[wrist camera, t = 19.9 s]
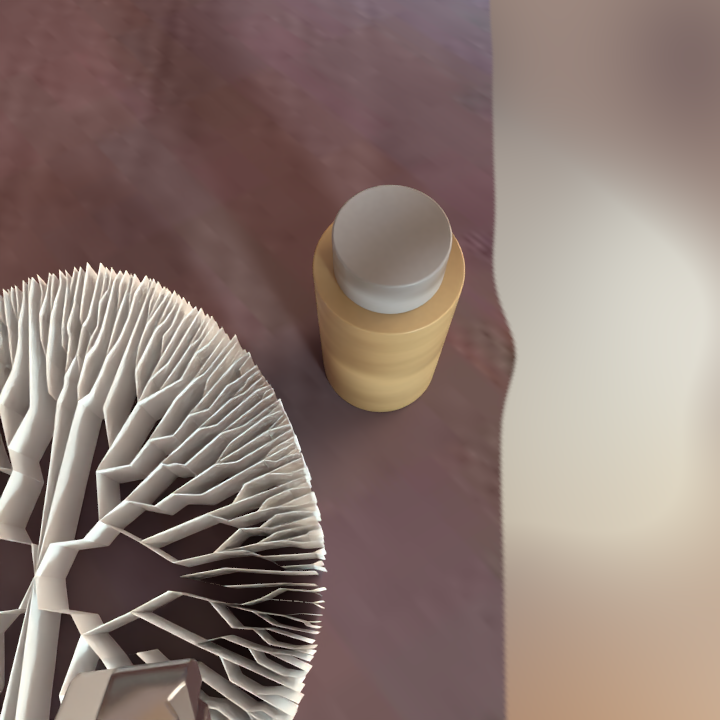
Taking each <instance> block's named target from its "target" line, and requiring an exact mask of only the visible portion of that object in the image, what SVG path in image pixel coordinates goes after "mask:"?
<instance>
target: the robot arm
mask: <svg viewBox="0 0 720 720" xmlns="http://www.w3.org/2000/svg"><path fill="white" fill-rule="evenodd" d="M201 683H202V677H201V674H200V670H199V666H198V663H197V660H195V659H193V658H188V659H180V660H172V661H164V662H155V663H147V664H139V665H131V666H123V667H118V668H115V669H106V670H98V671H89V672H80V673H78V674H77V675H76V677H75V678H74V679H73V680H72V681H71V682H70V684H69V686H68V688H67V691H66V693H65V695H64V698H63V700H62V703H61V705H60V707H59V710H58V712H57V715H56V717H55V719H54V720H211V716H210V712H209V707H208V704H206V703H205V702H204V701H202V700H201V699H200V698H199V695H200V689H201Z"/></svg>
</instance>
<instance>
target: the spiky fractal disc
mask: <svg viewBox="0 0 720 720" xmlns="http://www.w3.org/2000/svg"><path fill="white" fill-rule="evenodd" d="M65 272H66V276H65V275H64V274H63V273H62V272H61V271H60V269H59V277H60V280H59V279H58V278H57V277H56V276H55V275H54V274H53V275H51V274H50V273H49V278H48V284H46V283H45V282H44V281H43V280H42V279H41V278H40V277H39V276H38V275H37V276H38V280H39V284H40V285H39V284H38V283H37V282H36V281H35V280H34V279H33V277H32V280H31V279H30V278H29V277H28V285H27V284H26V283H25V282H24V281H23V292H22V291H21V290H20V289H19V288H18V287H16V286H15V290H14V289H13V288H12V287H11V292H10V291H9V290H8V293H9V294H8V293H7V292H6V291H5V290H4V289H3V295H4V298H3V297H2V296H1V295H0V416H1V420H2V425H3V429H4V433H5V438H6V442H7V446H8V450H9V455H10V459H11V463H12V467H11V464H10V462H9V459H8V457H7V454H6V450H5V447H4V443H3V440H2V436H1V433H0V471H1V472H4V473H6V474H9V475H11V476H10V478H9V480H8V483H7V485H6V487H5V489H4V492H3V494H2V496H0V539H4V540H9V541H14V542H18V543H23V544H28V545H31V547H32V556H33V566H34V575H35V576H34V578H33V580H32V582H31V584H30V586H29V588H28V590H27V592H26V594H25V596H24V599H23V601H22V603H21V605H20V607H19V609H16V610H9V611H1V612H0V694H1V692H2V690H3V689H4V687H5V646H4V632H5V631H6V630H7V629H8V627H9V626H10V625H11V624H12V623H13V622H14V621H15V619H16V618H17V617H18V616H19V615H20V614H22V613H25V617H24V621H23V625H22V629H21V634H20V638H19V642H18V646H17V650H16V654H15V658H14V662H13V666H12V671H11V675H10V679H9V683H8V687H7V691H6V695H5V699H4V703H3V707H2V711H1V715H0V720H49V716H50V707H51V698H52V689H53V680H54V672H55V663H56V655H57V646H58V638H59V629H60V621H61V613H65V614H71V616H72V618H73V620H74V622H75V624H76V626H77V628H78V630H79V632H80V634H81V636H80V639H79V642H78V645H77V647H76V650H75V653H74V656H73V658H72V661H71V664H70V667H69V669H68V672H67V675H66V678H65V680H64V683H63V686H62V689H61V691H60V694H59V698H60V702H61V703H62V700H63V698H64V695H65V693H66V691H67V688H68V686H69V684H70V682H71V681H72V680H73V679H74V678H75V677H76V675H77V674H78V673H80V672H89V671H95V669H96V666H97V663H98V660H99V657H100V659H101V660H102V662H103V663H104V665H105V666H106V668H107V669H115V668H118V667H123V666H131V665H133V664H132V662H131V661H130V659H129V658H128V656H127V655H126V653H125V652H124V651H123V650H122V649H121V647H120V646H119V645H118V644H117V643H116V641H115V640H114V639H113V638H112V637H111V636H110V634H109V632H111V631H113V630H115V629H117V628H119V627H121V626H123V625H125V624H127V623H130V622H132V621H134V620H136V619H138V618H142V619H144V620H146V621H148V622H150V623H152V624H154V625H156V626H158V627H160V628H162V629H164V630H166V631H168V632H170V633H172V634H174V635H176V636H178V637H180V638H182V639H184V640H186V641H188V642H190V643H192V644H194V645H196V646H198V647H200V648H202V649H205V650H207V651H209V652H211V653H213V654H216V655H218V656H220V658H221V661H222V663H223V666H224V668H225V670H226V673H227V675H228V678H229V680H230V681H231V682H232V683H234V684H236V685H238V686H239V687H241V688H243V689H245V690H246V691H248V692H250V693H252V694H253V695H255V696H257V697H259V698H260V699H262V700H264V701H260V702H258V701H256V700H255V699H253V698H252V697H251V696H249V695H248V694H246V693H245V692H243V691H242V690H241V689H239V688H238V687H236V686H235V685H233V684H232V683H231V682H229V681H228V680H226V679H225V678H224V677H222V676H221V675H219V674H218V673H216V672H215V671H214V670H212V669H211V668H209V667H208V666H206V665H205V664H204V663H202V662H197V663H198V666H199V670H200V674H201V677H202V681H204V682H205V683H207V684H208V685H209V686H211V687H212V688H214V689H215V690H217V691H218V692H219V693H221V694H222V695H224V696H225V697H226V698H228V699H224V698H217V697H209V696H208V695H207V694H206V693H205V692H204V691H202V690H201V689H200V695H199V698H200V699H201V700H202V701H204V702H205V703H206V704H208V707H209V712H210V716H211V720H292V719H293V718H294V716H295V714H296V712H297V708H298V706H299V705H297V704H295V703H293V702H292V701H294V702H296V703H298V704H299V702H300V701H301V699H302V697H303V696H304V694H302V693H300V692H301V690H302V689H303V687H304V686H305V684H303V683H302V682H303V680H304V679H305V677H306V676H305V675H306V674H307V673H308V672H309V670H310V669H311V667H312V665H310V664H308V663H305V662H303V661H301V660H299V659H297V658H295V657H298V658H301V659H304V660H307V661H311V659H312V658H313V657H314V656H312V655H313V654H314V653H315V652H316V650H312V649H311V648H315V647H316V646H317V645H294V644H289V643H284V642H279V641H277V640H275V639H274V638H273V637H272V636H271V635H270V634H269V633H268V632H267V631H266V630H265V629H268V630H271V631H274V632H277V633H280V634H283V635H286V636H290V637H293V638H296V639H299V640H302V641H305V642H308V643H311V644H312V643H313V642H314V641H316V640H313V639H310V638H307V637H304V636H301V635H297V634H294V633H291V632H288V631H285V630H282V629H279V628H261V627H247V626H243V625H242V624H241V622H240V621H239V620H238V619H237V618H236V617H235V616H234V614H233V613H232V612H231V611H230V610H229V609H228V608H227V606H231V607H235V608H239V609H243V610H247V611H251V612H253V613H255V614H257V615H258V616H260V617H261V618H263V619H264V620H266V621H267V622H269V623H270V624H272V625H275V626H279V627H283V628H287V629H292V630H297V631H303V632H308V633H313V634H318V633H319V632H318V631H313V630H308V629H302V628H297V627H293V626H289V625H284V624H280V623H279V622H277V621H276V620H274V619H273V618H271V617H270V616H268V615H267V614H271V615H278V616H283V617H287V618H290V619H293V620H297V621H300V622H304V624H305V625H306V626H308V627H314V628H320V627H321V626H315V625H311V624H310V623H309V622H321V621H305V620H302V619H299V618H295V617H292V616H289V615H282V614H274V613H267V612H261V611H257V610H253V609H249V608H245V607H241V606H237V605H233V604H232V603H225V602H221V601H217V600H213V599H209V598H205V597H202V596H198V595H194V594H190V593H185V592H176V591H167V592H165V593H164V594H162V595H160V596H158V597H156V598H154V599H153V600H151V601H149V602H147V603H145V604H143V605H142V606H140V607H138V608H136V609H134V610H132V611H131V612H129V613H127V614H124V615H122V616H120V617H118V618H116V619H114V620H112V621H110V622H107V623H105V624H103V622H102V620H101V618H100V616H99V614H95V613H89V612H82V611H76V610H69V604H68V596H67V588H66V580H65V579H66V577H67V575H68V573H69V570H70V568H71V566H72V564H73V562H74V560H75V558H76V555H77V553H78V551H79V550H83V549H90V548H98V547H106V546H109V545H110V544H111V543H112V542H113V540H114V539H115V538H116V537H117V536H118V534H119V533H120V532H121V533H123V534H125V535H127V536H129V537H131V538H132V539H134V540H136V541H138V542H140V543H141V544H143V545H145V546H146V547H148V548H149V549H151V550H153V551H154V552H156V553H157V554H159V555H161V556H162V557H164V558H165V559H167V560H169V561H170V562H172V563H175V564H179V565H183V566H187V567H193V566H197V565H201V564H206V563H210V562H214V561H219V560H223V559H227V558H234V557H246V556H256V557H260V558H263V559H266V560H269V561H272V562H273V561H288V560H304V559H314V558H318V559H323V560H326V559H325V557H324V555H325V554H326V551H325V549H324V548H323V547H325V546H324V544H323V542H324V540H323V537H324V535H323V531H322V528H321V526H320V524H319V523H318V521H321V518H320V516H321V515H320V512H319V509H318V506H317V505H316V503H317V500H316V497H315V493H314V492H312V491H311V488H312V487H311V484H310V480H311V477H310V473H309V470H308V467H306V464H305V461H304V458H303V455H302V453H300V451H301V449H300V445H299V442H298V439H297V436H296V435H295V434H294V431H293V428H292V425H291V424H290V421H289V418H288V417H287V414H286V412H285V411H284V408H283V405H282V402H281V399H279V400H278V401H277V398H276V395H275V392H274V389H273V388H272V387H271V385H269V384H268V382H267V381H265V378H264V375H263V376H262V374H261V372H260V370H259V369H258V367H257V365H256V366H255V365H254V363H253V360H252V358H251V355H250V353H249V352H248V353H246V350H245V349H244V350H242V347H241V346H240V344H239V341H238V339H237V337H236V335H235V336H234V337H233V338H232V340H231V341H230V339H229V337H228V335H227V334H225V332H224V330H223V327H222V328H221V329H219V327H218V324H217V322H215V321H214V319H213V317H212V316H211V318H209V316H208V314H207V315H206V316H205V314H204V312H203V310H202V308H201V309H200V310H199V312H198V310H197V308H196V307H195V308H194V309H193V308H192V307H191V305H190V303H189V302H188V304H187V302H186V300H185V299H184V297H183V299H181V298H180V296H179V294H178V296H177V294H176V292H175V290H174V292H173V294H172V293H171V292H170V291H169V290H168V289H167V290H166V288H165V287H164V288H163V289H162V287H161V285H160V284H159V282H158V283H157V284H156V282H155V280H154V279H153V281H151V279H150V280H149V279H148V278H147V276H145V277H144V279H143V281H142V282H140V281H139V279H138V278H137V276H136V275H135V273H134V277H133V276H132V275H129V274H128V272H127V271H125V273H124V275H123V274H122V272H121V271H119V273H118V274H116V273H115V271H114V270H113V269H112V267H111V273H110V271H109V270H108V268H107V267H106V269H105V268H104V266H103V265H102V263H100V267H99V272H98V276H97V274H96V273H95V272H94V270H93V269H92V268H91V266H90V265H89V264H88V262H87V267H86V273H85V272H84V270H83V269H82V268H81V267H80V270H79V272H78V270H77V269H76V268H75V267H74V272H73V276H72V277H71V276H70V275H69V274H68V272H67V271H66V270H65ZM136 395H137V401H138V403H137V404H136V406H135V408H134V409H133V411H132V413H131V414H130V411H131V408H132V406H133V403H134V400H135V398H136ZM129 414H130V416H129ZM128 416H129V417H128ZM104 418H105V424H106V430H107V436H108V442H109V450H108V452H107V453H106V455H105V457H104V458H103V460H102V462H101V463H100V465H99V466H98V468H97V470H96V481H97V497H98V513H99V521H98V522H97V524H96V525H95V526H94V527H93V528H92V529H91V531H90V532H89V533H88V534H87V535H86V536H85V537H84V539H81V540H74V539H75V534H76V530H77V526H78V521H79V517H80V512H81V508H82V503H83V499H84V494H85V490H86V486H87V481H88V477H89V473H90V468H91V464H92V460H93V456H94V451H95V447H96V443H97V439H98V435H99V431H100V427H101V423H102V420H103V419H104ZM161 418H162V420H161V421H160V423H159V424H158V426H157V427H156V429H155V430H154V432H153V434H152V435H151V437H150V438H149V440H148V441H147V442H146V444H145V445H144V446H143V448H142V449H141V450H140V448H141V446H142V445H143V443H144V441H145V440H146V438H147V436H148V435H149V433H150V431H151V430H152V428H153V426H154V425H155V423H156V421H157V420H159V419H161ZM52 437H53V442H52V450H51V458H50V466H49V473H48V480H47V488H46V495H45V502H44V510H43V517H42V525H41V532H40V539H39V545H36V544H33V543H32V541H31V539H30V537H29V535H28V533H27V531H26V529H25V528H26V525H27V523H28V521H29V518H30V516H31V513H32V511H33V509H34V506H35V504H36V502H37V499H38V497H39V494H40V492H41V490H42V487H43V485H44V480H43V476H42V472H41V468H40V464H39V462H40V460H41V458H42V456H43V454H44V452H45V450H46V448H47V447H48V445H49V443H50V441H51V439H52ZM139 450H140V452H139V453H138V451H139ZM137 453H138V454H137ZM169 454H170V455H169ZM136 455H137V456H136ZM167 455H169V456H168V457H167V458H166V459H165V460H164V458H165V457H166V456H167ZM163 460H164V461H163ZM162 461H163V462H162ZM12 468H13V469H12ZM178 477H182V478H187V477H195V478H193V479H192V480H190V481H189V482H188V483H186V484H185V485H183V486H182V487H180V488H179V489H177V490H176V491H174V492H173V493H171V494H170V495H169V496H167V497H166V498H164V499H163V500H162V501H160V502H159V503H157V504H156V505H155V506H153V505H151V504H152V503H153V502H154V501H155V500H156V499H157V498H158V497H159V496H160V495H161V494H162V493H163V492H164V491H165V490H166V489H167V488H168V487H169V486H170V485H171V484H172V483H173V482H174V481H175V480H176V479H177V478H178ZM227 477H231V478H230V479H228V480H226V481H224V482H222V483H221V484H219V485H217V484H218V483H220V482H221V481H223V480H224V479H226V478H227ZM142 479H145V480H144V481H143V482H142V483H141V484H140V485H139V486H138V487H137V488H136V489H135V490H134V491H133V492H132V493H131V494H130V495H129V496H128V497H127V498H126V499H125V500H124V501H122V502H121V497H120V483H126V482H131V481H137V480H142ZM216 485H217V486H216ZM214 486H215V487H214ZM274 486H278V487H275V488H273V489H270V490H267V489H269V488H271V487H274ZM211 488H212V489H211ZM265 490H267V491H265ZM239 491H240V492H239ZM263 491H265V492H263ZM238 492H239V493H238ZM261 492H262V493H261ZM236 493H238V495H237V497H236V498H235V500H234V501H233V503H232V504H230V505H228V506H225V507H222V508H220V509H217V510H214V511H212V512H209V513H206V514H204V515H202V516H199V517H197V518H195V519H192V520H190V521H187V522H185V523H183V524H180V525H178V526H175V527H173V528H171V529H168V530H166V531H163V532H161V533H159V534H156V535H154V536H151V537H149V538H147V539H144V540H142V539H140V538H138V537H136V536H135V535H133V534H131V533H129V532H127V531H125V530H123V529H124V528H125V527H126V526H127V525H129V524H130V523H131V522H132V521H133V520H135V519H136V518H137V517H138V516H139V515H141V514H142V513H143V512H144V511H145V510H148V511H153V512H158V513H163V514H168V515H174V514H176V513H177V512H178V511H180V510H181V509H183V508H184V507H185V506H187V505H188V504H194V505H216V504H218V503H220V502H222V501H224V500H225V499H227V498H229V497H231V496H232V495H234V494H236ZM257 508H259V510H258V511H256V512H253V513H250V514H247V515H244V516H241V517H238V518H235V519H232V520H228V519H231V518H234V517H236V516H239V515H242V514H244V513H247V512H249V511H252V510H255V509H257ZM266 520H268V521H267V522H266V523H264V524H263V525H262V526H261V527H259V528H245V527H248V526H251V525H254V524H257V523H260V522H263V521H266ZM289 522H291V523H289ZM218 523H223V524H226V525H230V526H233V527H236V528H239V529H238V530H237V531H236V532H235V533H234V534H233V535H232V536H231V537H230V538H229V539H228V540H226V541H225V542H224V543H223V544H222V545H221V546H220V547H219V548H218V549H217V550H216V551H215V552H214V553H212V554H207V555H203V556H198V557H194V558H190V559H185V560H181V561H178V560H177V559H175V558H174V557H172V556H170V555H169V554H167V553H166V552H164V551H162V550H161V549H159V548H161V547H164V546H166V545H168V544H171V543H173V542H175V541H178V540H180V539H183V538H185V537H187V536H190V535H192V534H194V533H197V532H199V531H202V530H204V529H206V528H209V527H211V526H213V525H216V524H218ZM284 523H288V524H284ZM282 524H284V525H282ZM266 535H271V536H269V537H267V538H266V539H264V540H262V541H260V542H258V543H256V544H252V545H247V546H243V547H239V546H240V545H241V544H242V543H243V542H245V541H246V540H247V539H248V538H249V537H250V536H266ZM297 536H298V537H297ZM293 537H294V538H293ZM288 538H291V539H288ZM284 539H287V540H284ZM285 547H296V548H303V549H312V548H322V549H320V550H318V551H316V552H313V553H304V554H292V555H275V556H261V555H258V554H255V553H254V552H259V551H263V550H269V549H277V548H285ZM277 565H278V564H277ZM279 566H280V565H279ZM321 566H324V564H323V562H322V560H321V561H318V562H316V563H313V564H309V565H293V566H281V567H283V568H284V569H286V570H288V571H269V570H253V569H238V568H222V569H216V570H211V571H206V572H201V573H195V574H190V575H185V576H180V577H184V578H189V579H193V580H198V579H204V578H209V577H214V576H219V575H224V574H230V573H235V572H247V573H262V574H278V575H319V574H318V573H317V572H316V571H289V570H305V569H317V570H322V571H326V572H327V570H326V569H325V568H324V567H321ZM198 581H199V580H198ZM203 582H204V581H203ZM212 584H213V583H212ZM217 585H218V584H217ZM222 586H223V585H222ZM274 586H317V585H316V584H305V583H271V584H252V585H233V586H227V587H232V588H255V587H274ZM287 590H289V591H302V592H314V593H315V592H318V591H323V590H327V589H326V588H325V587H323V588H318V589H314V590H298V589H285V588H279V589H277V590H276V591H274V592H272V593H270V594H268V595H266V596H264V597H262V598H260V599H257V600H254V601H251V602H247V603H244V604H238V605H254V604H257V603H260V602H264V601H267V600H277V599H272V598H274V597H276V596H278V595H279V594H281V593H283V592H285V591H287ZM183 594H184V595H188V596H191V597H195V598H199V599H203V600H207V601H209V602H210V603H211V604H212V606H213V607H214V608H215V609H216V610H217V611H218V613H219V614H220V615H221V616H222V617H223V618H224V619H225V621H226V622H227V623H228V624H229V625H230V626H231V628H240V629H253V630H254V631H255V632H256V633H257V634H258V635H259V636H260V637H261V638H263V639H264V640H265V641H266V642H267V643H268V644H269V645H274V646H279V647H284V648H288V649H293V650H283V649H275V648H271V647H267V646H263V645H259V644H256V643H254V642H251V641H249V640H246V639H243V638H241V637H238V636H236V635H228V636H223V637H218V638H215V639H212V640H206V639H204V638H202V637H200V636H198V635H196V634H194V633H192V632H190V631H188V630H186V629H184V628H182V627H180V626H178V625H176V624H174V623H172V622H170V621H168V620H166V619H164V618H162V617H160V616H158V615H156V614H154V613H152V611H154V610H156V609H158V608H160V607H162V606H163V605H165V604H167V603H169V602H171V601H172V600H174V599H176V598H178V597H180V596H182V595H183ZM317 594H318V593H317ZM319 595H320V594H319ZM282 601H290V600H282ZM296 602H301V601H296ZM321 602H325V601H317V602H312V603H313V604H315V605H317V606H319V607H321V608H323V607H322V606H320V605H318V604H316V603H321ZM307 603H310V602H307ZM226 605H227V606H226ZM298 614H306V613H298ZM291 615H295V614H291ZM309 615H316V614H309ZM319 616H321V615H319ZM220 638H223V639H226V640H229V641H231V642H234V643H236V644H239V645H242V646H244V647H247V648H249V650H250V652H251V653H252V655H253V657H254V658H255V660H256V661H257V662H255V661H252V660H250V659H248V658H246V657H243V656H241V655H239V654H237V653H235V652H232V651H230V650H228V649H226V648H224V647H221V646H219V645H217V644H215V643H212V642H210V641H213V640H216V639H220ZM295 650H296V651H295ZM299 651H300V652H299ZM264 652H266V653H269V654H271V655H273V656H275V657H277V658H280V659H282V660H284V661H286V662H288V663H290V664H292V665H294V666H296V667H299V668H301V669H303V670H305V671H301V670H295V669H288V668H286V667H284V666H282V665H280V664H278V663H276V662H274V661H272V660H270V659H269V658H267V657H266V655H265V654H264ZM302 652H303V653H302ZM305 653H307V654H305ZM134 654H135V653H134ZM136 654H137V655H138V656H139V657H140V658H141V659H142V660H143V661H144V662H145V663H146V664H147V663H155V662H164V661H170V660H169V659H168V658H166V657H165V656H164V655H163V654H162V653H161V652H160V651H159V650H158V649H155V650H150V651H144V652H139V653H136ZM309 654H311V655H309ZM291 655H292V656H291ZM293 656H295V657H293ZM239 665H240V666H242V667H244V668H246V669H249V670H251V671H253V672H255V673H258V674H260V675H262V676H264V677H266V678H269V679H271V680H273V681H275V682H277V683H280V684H282V685H284V686H263V685H261V684H259V683H257V682H256V681H254V680H252V679H250V678H249V677H247V676H245V675H243V674H242V672H241V669H240V667H239ZM284 697H285V698H284ZM286 698H287V699H286ZM288 699H289V700H288ZM290 700H291V701H290Z"/></svg>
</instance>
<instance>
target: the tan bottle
mask: <svg viewBox="0 0 720 720" xmlns="http://www.w3.org/2000/svg"><path fill="white" fill-rule="evenodd" d="M464 278H465V263H464V257H463V254H462V250H461V248H460V246H459V243H458V241H457V240H456V238H455V236H454V235H453V233H452V229H451V226H450V222H449V220H448V218H447V216H446V214H445V213H444V211H443V210H442V208H441V207H440V206H439V205H438V204H437V203H436V202H435V201H434V200H433V199H432V198H430V197H429V196H427V195H426V194H424V193H422V192H420V191H418V190H415V189H413V188H409V187H405V186H399V185H382V186H376V187H372V188H369V189H366V190H364V191H361V192H360V193H358V194H356V195H355V196H353V197H352V198H350V199H349V200H348V201H347V202H346V203H345V204H344V205H343V206H342V208H341V209H340V210H339V212H338V214H337V215H336V218H335V220H334V222H333V223H332V224H331V225H330V226H329V227H328V228H327V230H326V231H325V232H324V233H323V235H322V237H321V238H320V240H319V242H318V244H317V247H316V249H315V253H314V257H313V279H314V288H315V296H316V304H317V313H318V321H319V329H320V337H321V346H322V354H323V362H324V369H325V373H326V376H327V379H328V381H329V383H330V385H331V386H332V387H333V389H334V390H335V391H336V393H337V394H338V395H339V396H340V397H341V398H343V399H344V400H345V401H347V402H348V403H350V404H351V405H353V406H355V407H358V408H360V409H363V410H368V411H373V412H388V411H393V410H397V409H400V408H403V407H405V406H407V405H409V404H410V403H412V402H414V401H415V400H416V399H417V398H419V397H420V396H421V395H422V394H423V392H424V391H425V390H426V388H427V387H428V385H429V384H430V381H431V379H432V377H433V374H434V371H435V368H436V365H437V362H438V359H439V356H440V353H441V350H442V347H443V344H444V341H445V338H446V335H447V332H448V329H449V326H450V323H451V320H452V317H453V314H454V311H455V308H456V305H457V302H458V300H459V297H460V294H461V290H462V287H463V284H464Z"/></svg>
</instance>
